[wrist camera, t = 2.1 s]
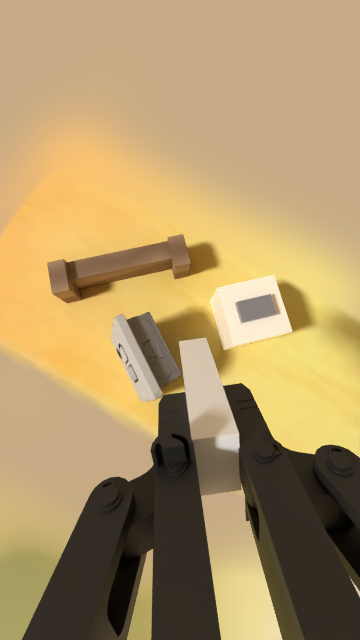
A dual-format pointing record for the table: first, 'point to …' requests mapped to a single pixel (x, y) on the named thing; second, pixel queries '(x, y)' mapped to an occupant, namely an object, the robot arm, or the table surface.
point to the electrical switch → (144, 355)
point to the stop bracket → (118, 267)
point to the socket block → (249, 312)
